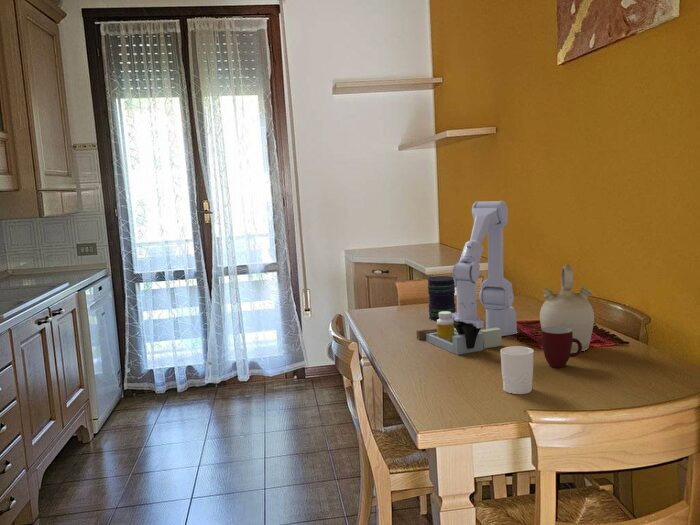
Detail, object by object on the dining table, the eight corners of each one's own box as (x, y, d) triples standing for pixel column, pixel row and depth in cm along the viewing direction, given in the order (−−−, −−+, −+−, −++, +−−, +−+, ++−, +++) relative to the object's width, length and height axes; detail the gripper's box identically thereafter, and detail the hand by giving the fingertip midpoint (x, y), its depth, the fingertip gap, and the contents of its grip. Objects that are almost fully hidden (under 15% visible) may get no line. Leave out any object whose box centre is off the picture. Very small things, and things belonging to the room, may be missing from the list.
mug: (575, 360, 183) (575, 325, 182) (586, 368, 175) (586, 332, 174) (537, 362, 183) (537, 327, 182) (547, 371, 175) (546, 334, 174)
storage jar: (460, 316, 244) (459, 276, 242) (449, 322, 236) (448, 281, 234) (435, 314, 249) (434, 275, 247) (424, 320, 241) (422, 279, 239)
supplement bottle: (454, 344, 206) (453, 314, 204) (436, 344, 207) (435, 314, 205) (454, 340, 211) (454, 310, 210) (437, 340, 212) (436, 310, 211)
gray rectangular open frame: (450, 337, 215) (449, 321, 214) (483, 350, 198) (482, 333, 197) (426, 341, 211) (425, 325, 211) (457, 354, 194) (456, 337, 194)
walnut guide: (465, 331, 222) (465, 322, 222) (503, 345, 202) (503, 336, 202) (416, 338, 215) (416, 330, 215) (451, 354, 195) (451, 345, 195)
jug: (596, 342, 200) (596, 261, 196) (591, 356, 186) (591, 269, 182) (544, 339, 206) (543, 260, 203) (536, 353, 192) (535, 268, 189)
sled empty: (468, 333, 219) (467, 317, 218) (501, 345, 202) (501, 329, 201) (451, 335, 216) (451, 320, 216) (484, 348, 199) (484, 331, 199)
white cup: (496, 386, 165) (496, 347, 164) (527, 383, 166) (527, 345, 164) (507, 396, 157) (506, 356, 156) (539, 394, 158) (538, 353, 157)
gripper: (442, 300, 200) (443, 343, 202) (468, 308, 187) (469, 354, 189) (462, 297, 203) (463, 340, 205) (489, 305, 190) (490, 351, 191)
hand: (467, 347), depth 197 cm, fingers closed on gray rectangular open frame, 2 cm apart
